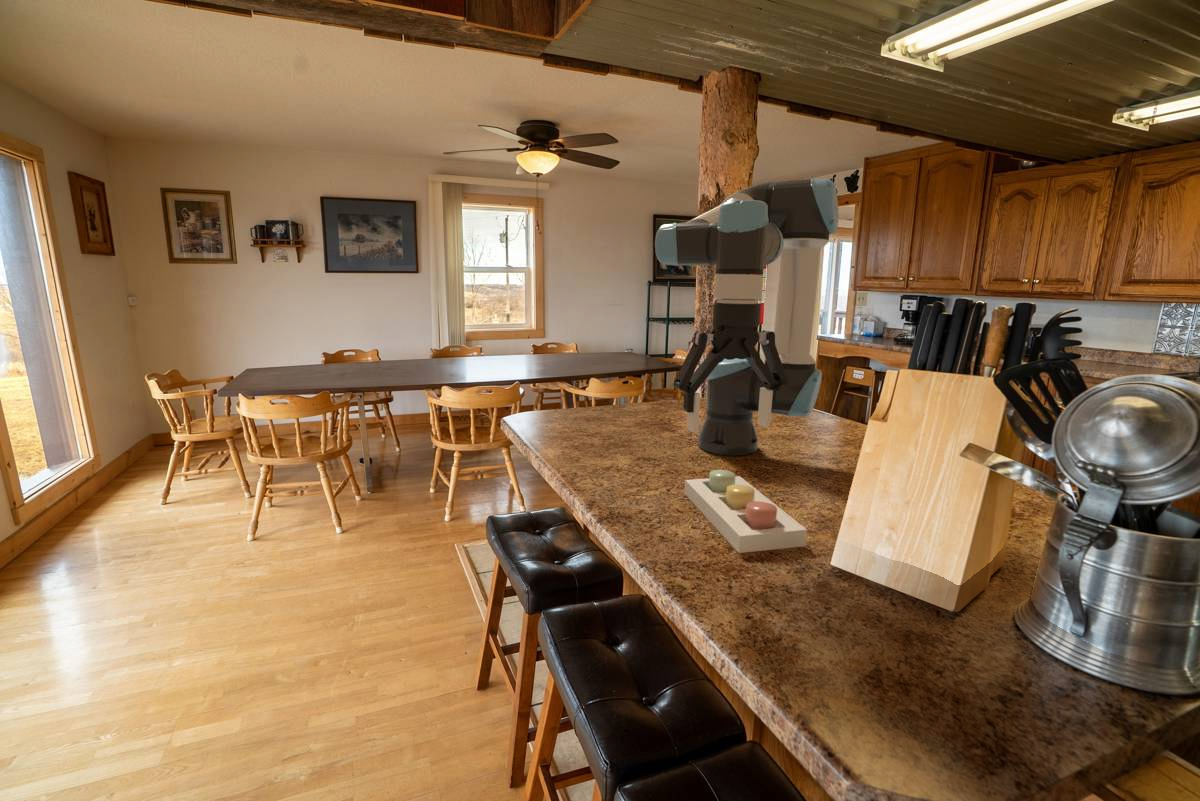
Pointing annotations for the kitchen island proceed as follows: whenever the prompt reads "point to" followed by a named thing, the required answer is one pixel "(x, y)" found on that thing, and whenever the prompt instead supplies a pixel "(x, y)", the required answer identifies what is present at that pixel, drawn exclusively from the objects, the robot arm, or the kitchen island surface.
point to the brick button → (761, 515)
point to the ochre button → (739, 496)
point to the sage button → (721, 480)
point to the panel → (734, 524)
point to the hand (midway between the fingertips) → (728, 428)
